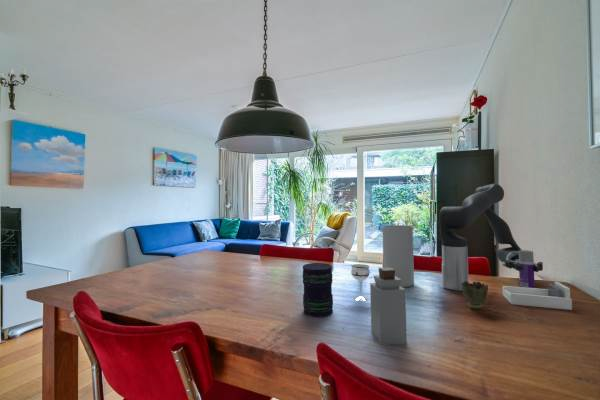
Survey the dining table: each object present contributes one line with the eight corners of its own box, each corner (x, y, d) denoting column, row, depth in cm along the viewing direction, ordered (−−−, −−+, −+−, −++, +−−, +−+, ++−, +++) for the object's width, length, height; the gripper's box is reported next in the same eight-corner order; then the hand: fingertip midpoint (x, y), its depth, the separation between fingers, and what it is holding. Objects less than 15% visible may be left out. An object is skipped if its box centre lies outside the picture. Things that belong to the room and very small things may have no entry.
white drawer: (511, 304, 95) (510, 284, 96) (502, 295, 105) (502, 277, 105) (572, 309, 89) (571, 289, 90) (557, 299, 99) (556, 281, 99)
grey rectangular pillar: (416, 281, 124) (415, 225, 125) (410, 289, 114) (409, 227, 114) (388, 278, 131) (386, 224, 131) (380, 285, 120) (378, 227, 121)
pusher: (557, 304, 92) (557, 289, 92) (548, 297, 99) (547, 283, 99) (561, 305, 92) (561, 289, 92) (551, 298, 98) (551, 283, 98)
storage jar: (312, 320, 86) (311, 270, 86) (297, 309, 94) (297, 265, 94) (339, 313, 90) (338, 267, 90) (323, 304, 99) (322, 261, 99)
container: (537, 290, 109) (536, 252, 109) (523, 290, 110) (522, 252, 110) (530, 287, 114) (529, 250, 114) (517, 286, 114) (515, 250, 115)
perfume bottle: (371, 332, 76) (369, 266, 77) (395, 331, 77) (393, 265, 77) (380, 345, 70) (378, 272, 70) (406, 343, 70) (404, 271, 71)
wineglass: (373, 298, 104) (373, 265, 104) (364, 303, 99) (363, 269, 99) (357, 294, 109) (357, 263, 109) (348, 299, 104) (347, 266, 104)
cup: (485, 305, 95) (484, 281, 95) (492, 313, 88) (491, 287, 88) (460, 303, 97) (459, 280, 97) (465, 310, 90) (464, 286, 90)
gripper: (498, 251, 128) (505, 257, 113) (538, 253, 121) (551, 260, 106) (498, 267, 128) (506, 276, 113) (538, 270, 121) (552, 280, 106)
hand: (528, 268), depth 109 cm, fingers closed on container, 4 cm apart
